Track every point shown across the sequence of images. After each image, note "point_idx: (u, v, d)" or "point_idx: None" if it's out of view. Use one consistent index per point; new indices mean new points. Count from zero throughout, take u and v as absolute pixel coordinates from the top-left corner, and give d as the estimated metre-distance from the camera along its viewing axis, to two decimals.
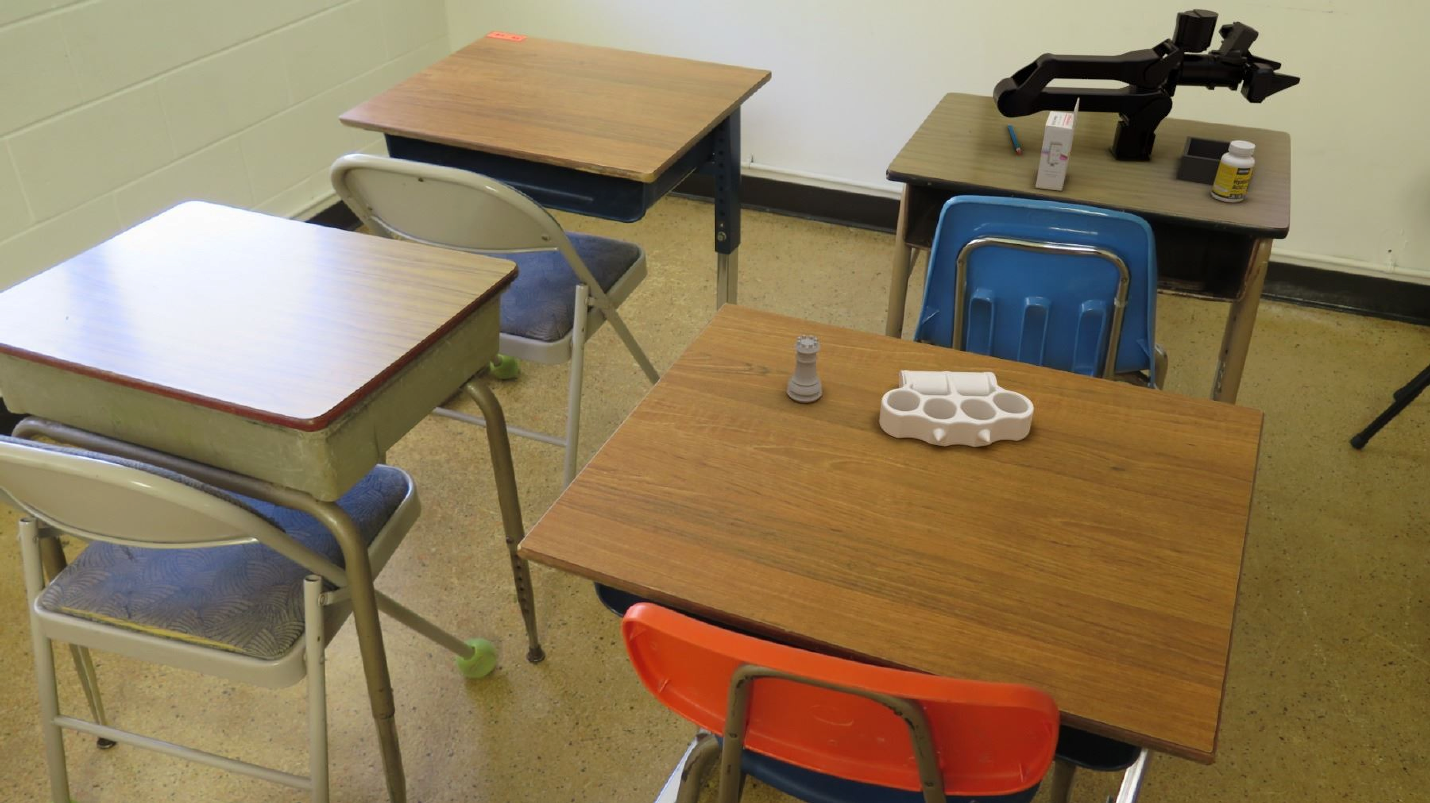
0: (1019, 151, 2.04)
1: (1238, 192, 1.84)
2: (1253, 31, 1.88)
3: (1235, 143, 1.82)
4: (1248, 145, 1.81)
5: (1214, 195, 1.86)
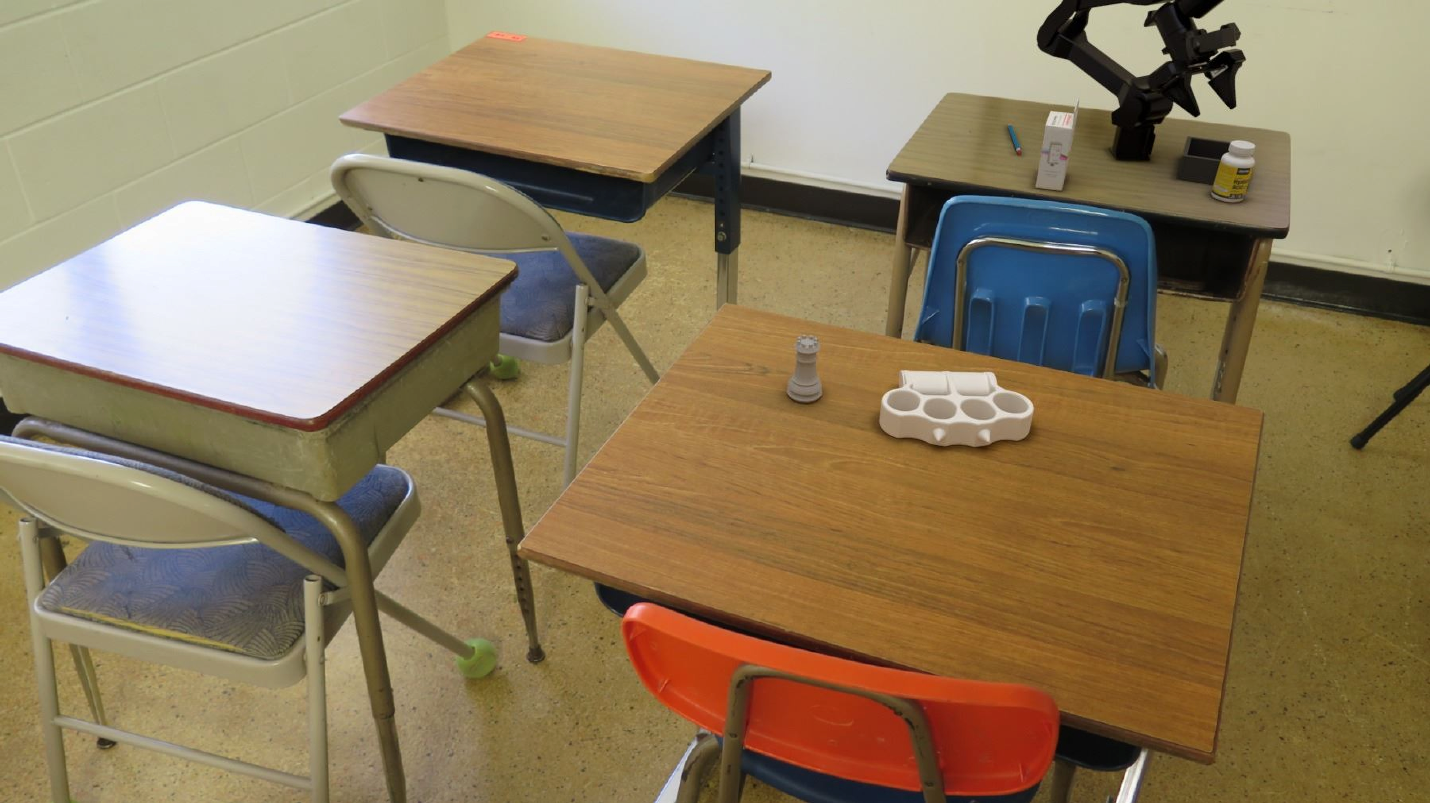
0: (1019, 151, 2.04)
1: (1238, 192, 1.84)
2: (1220, 41, 1.79)
3: (1235, 143, 1.82)
4: (1248, 145, 1.81)
5: (1214, 195, 1.86)
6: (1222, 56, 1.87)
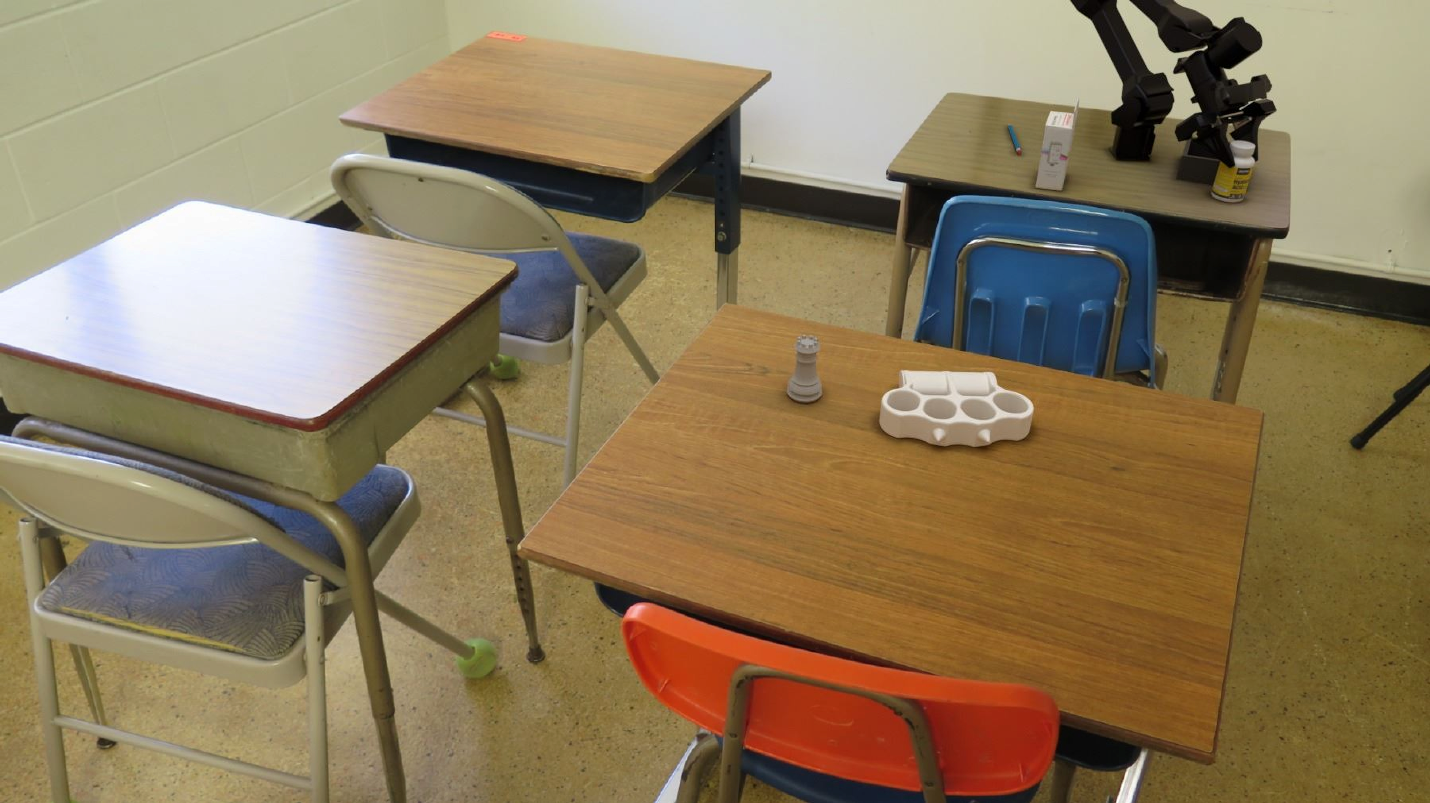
0: (1019, 151, 2.04)
1: (1238, 192, 1.84)
2: (1250, 94, 1.76)
3: (1235, 143, 1.82)
4: (1248, 145, 1.81)
5: (1214, 195, 1.86)
6: (1252, 106, 1.84)
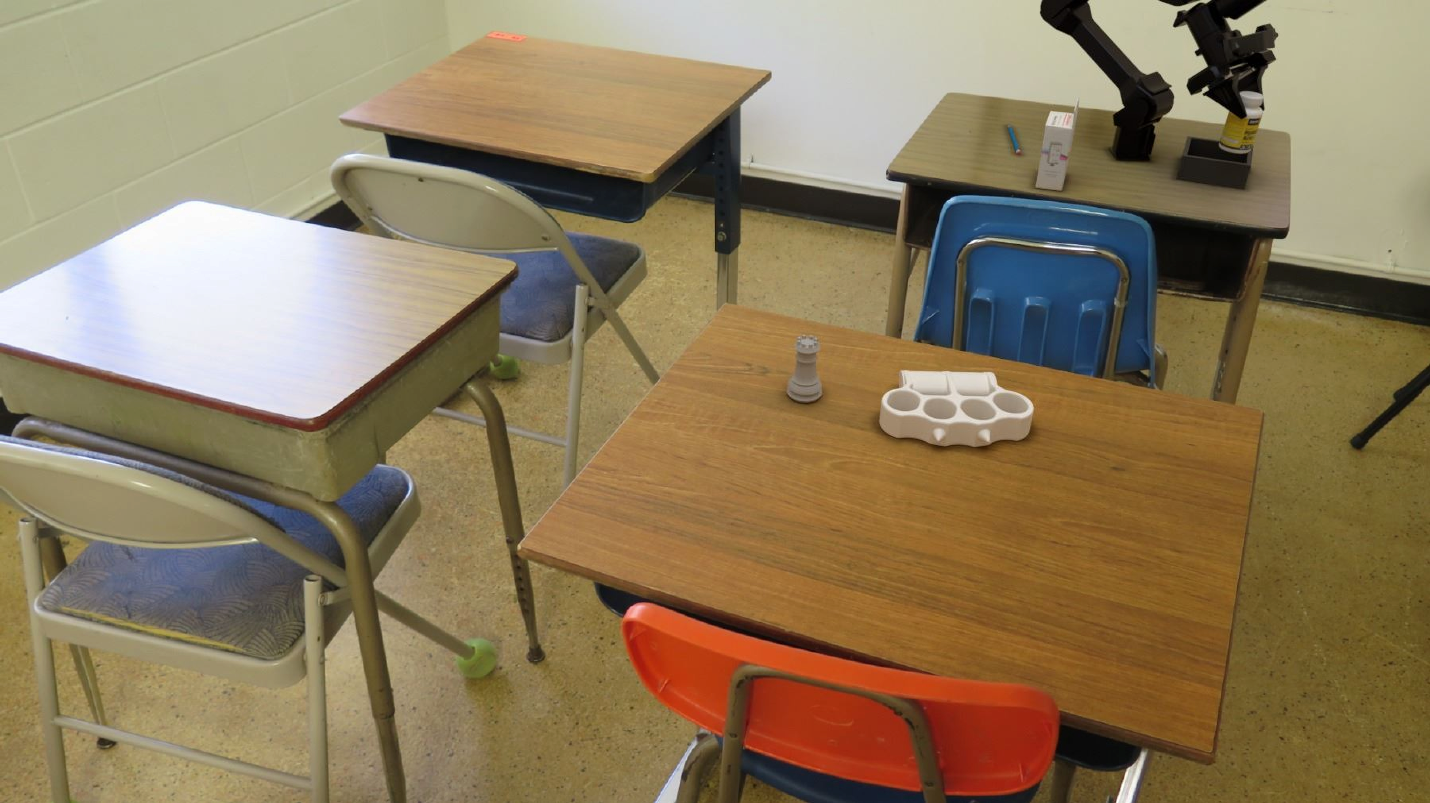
0: (1019, 153, 2.04)
1: (1248, 143, 1.85)
2: (1262, 44, 1.76)
3: (1244, 94, 1.82)
4: (1256, 95, 1.82)
5: (1223, 147, 1.86)
6: (1254, 57, 1.85)
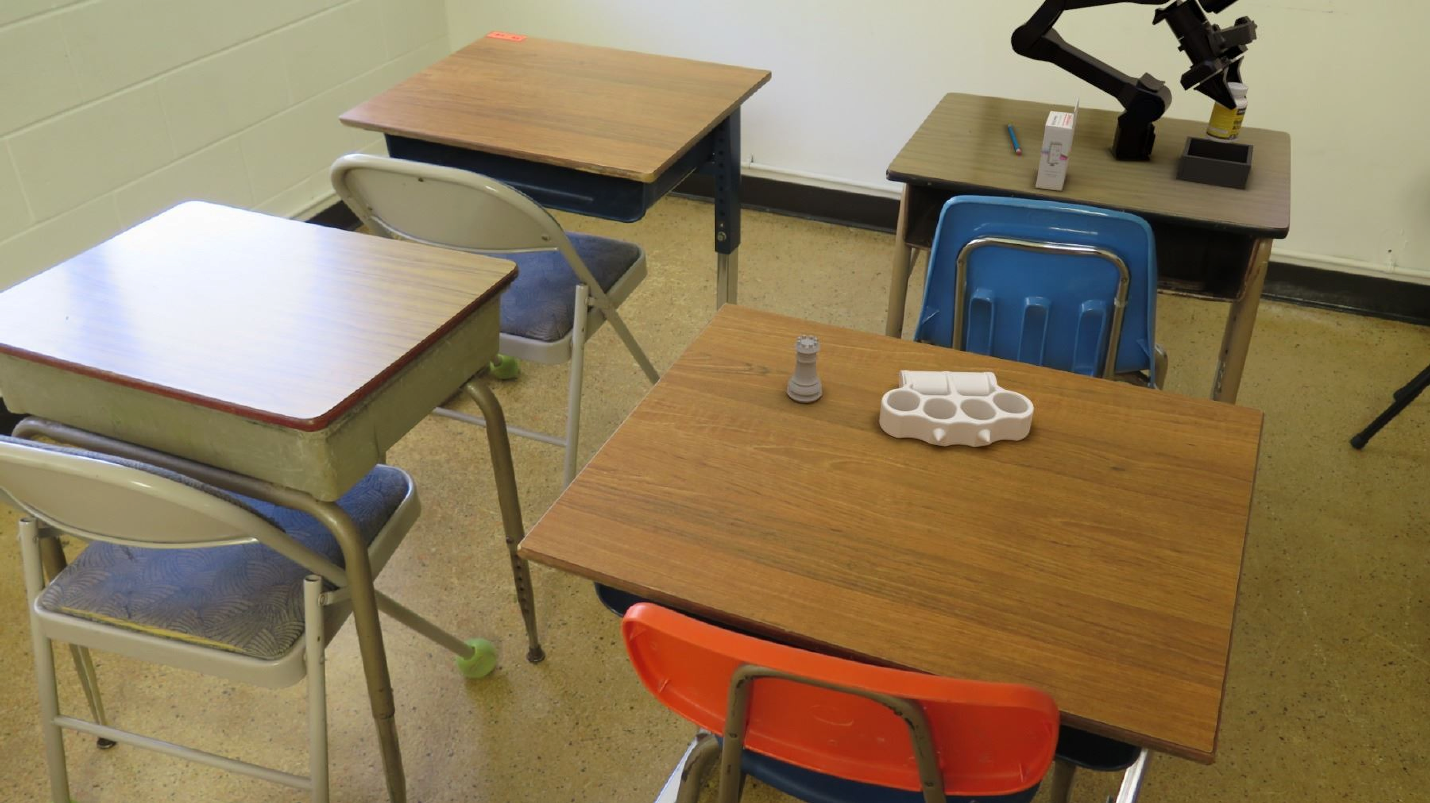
0: (1019, 152, 2.04)
1: (1236, 132, 1.90)
2: (1248, 37, 1.81)
3: (1230, 85, 1.87)
4: (1241, 86, 1.87)
5: (1213, 138, 1.91)
6: (1229, 48, 1.91)
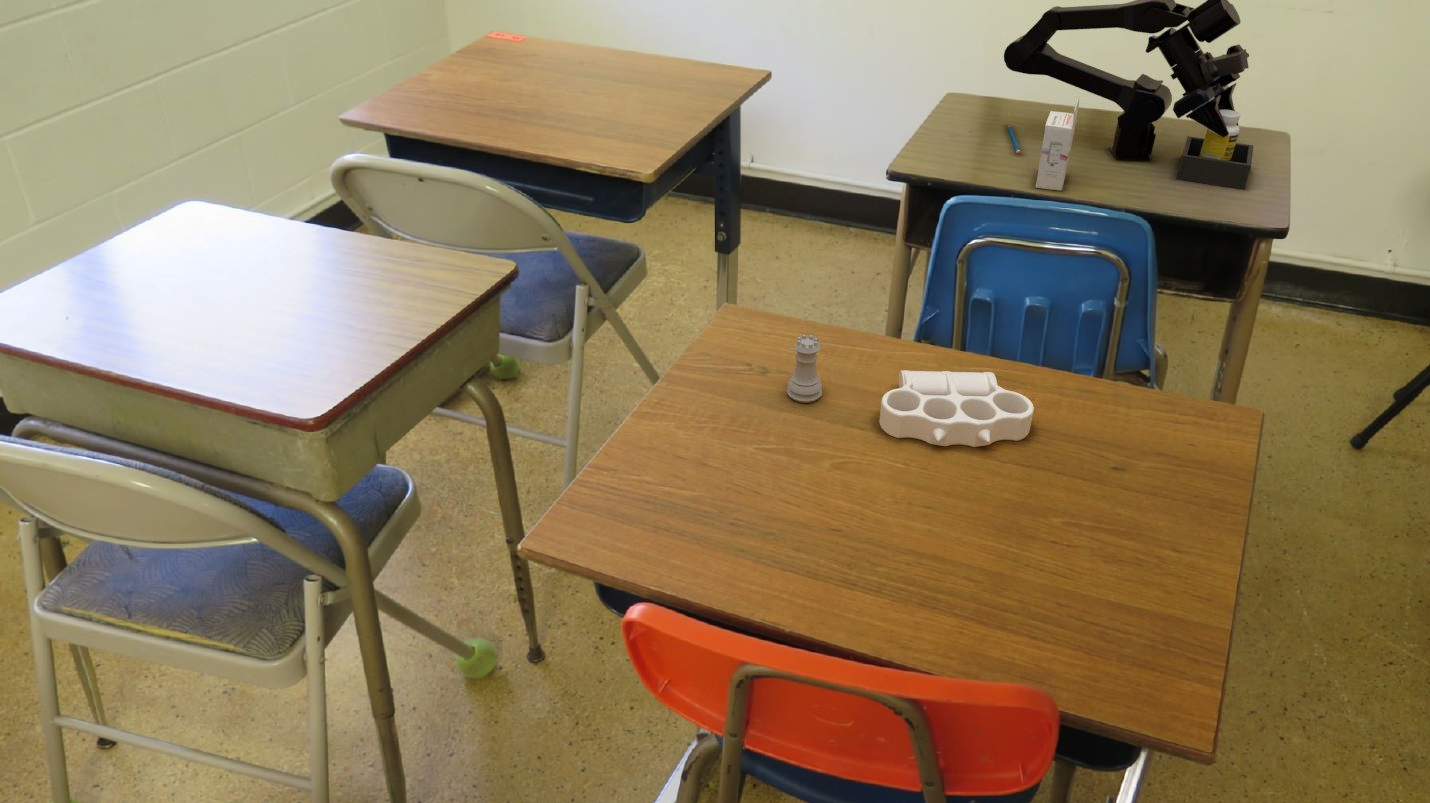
0: (1019, 153, 2.04)
1: (1228, 159, 1.93)
2: (1240, 66, 1.84)
3: (1222, 113, 1.90)
4: (1233, 113, 1.90)
5: None
6: (1221, 76, 1.93)
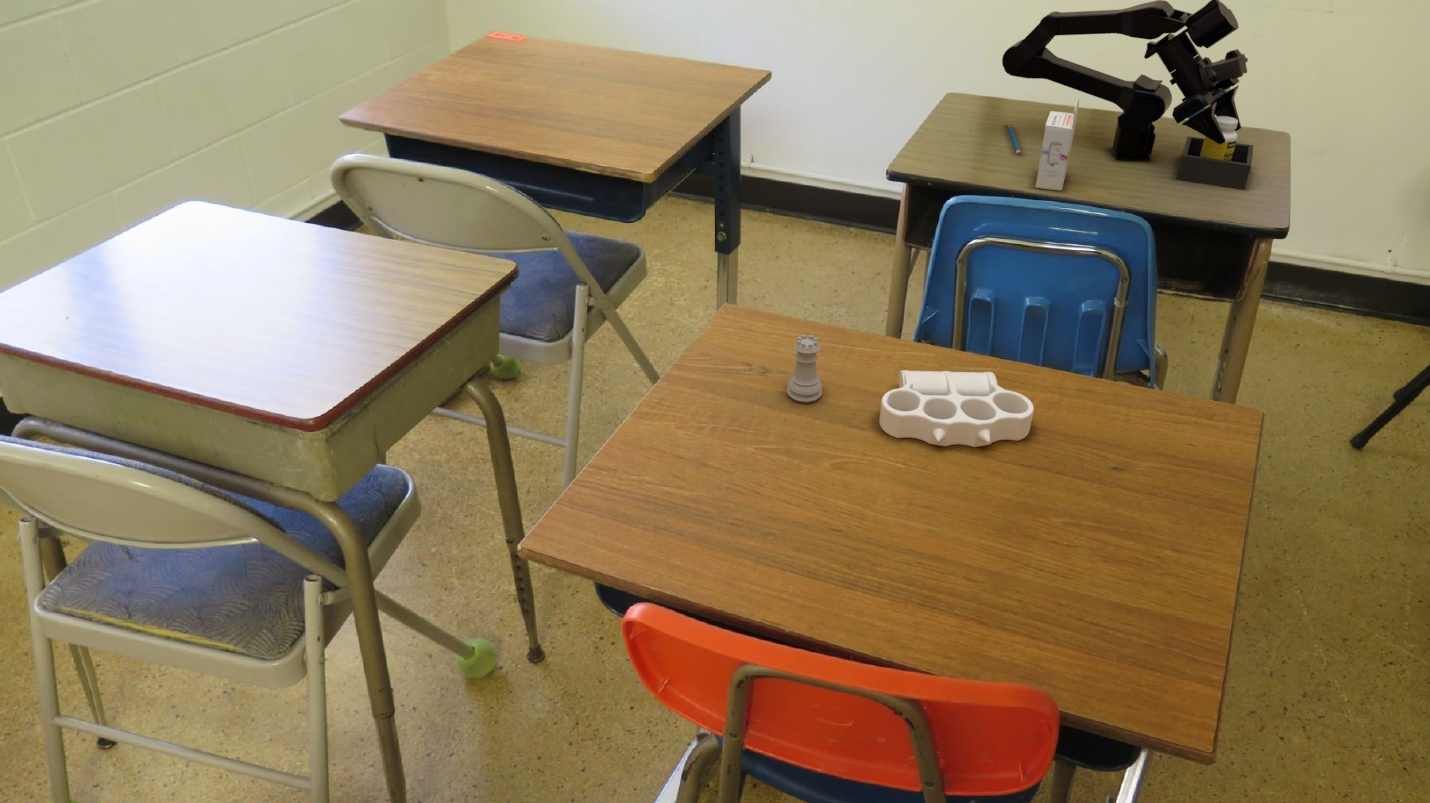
0: (1019, 153, 2.04)
1: None
2: (1239, 70, 1.84)
3: (1220, 119, 1.91)
4: (1231, 119, 1.91)
5: None
6: (1221, 81, 1.94)
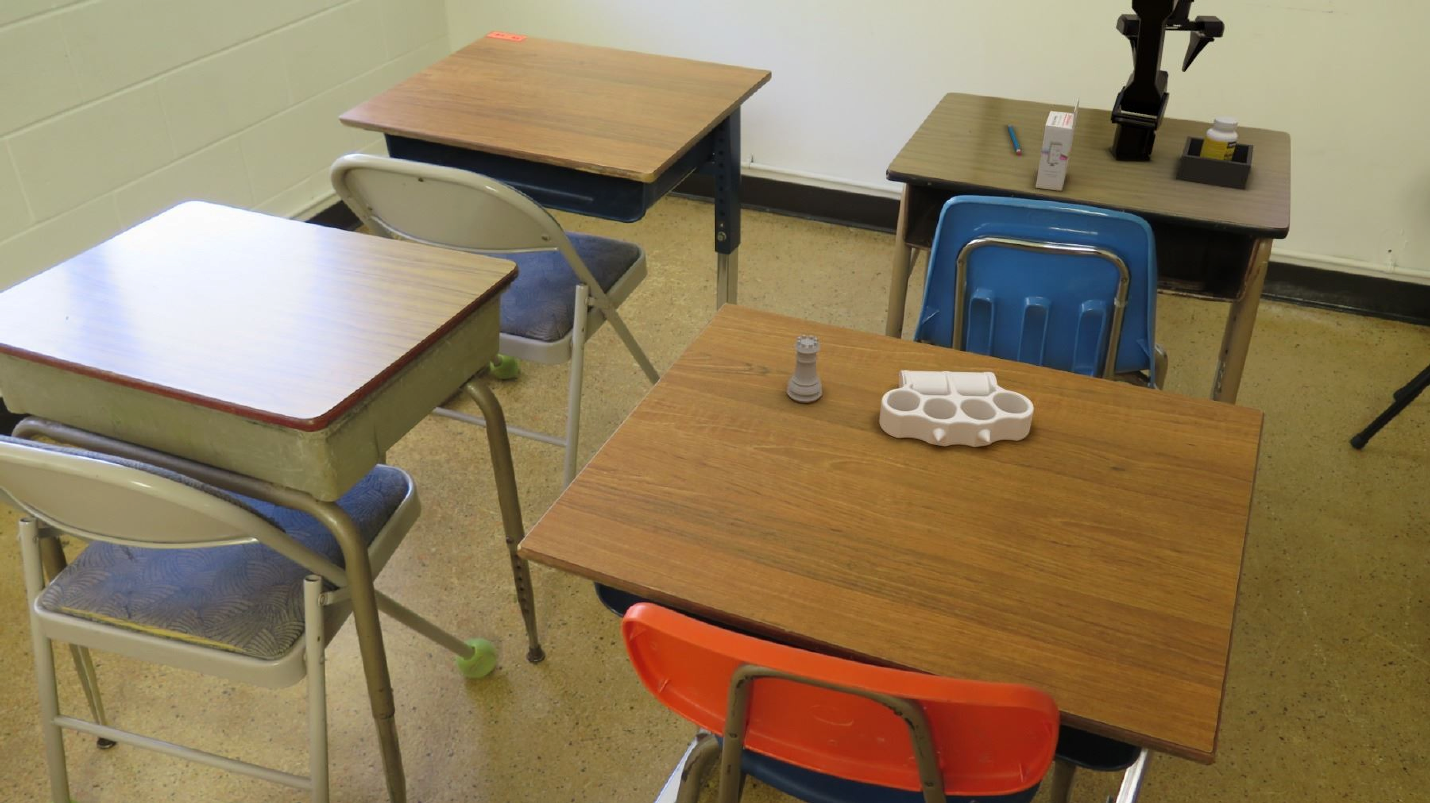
0: (1019, 152, 2.04)
1: None
2: None
3: (1220, 119, 1.91)
4: (1231, 119, 1.91)
5: None
6: None
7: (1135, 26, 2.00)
